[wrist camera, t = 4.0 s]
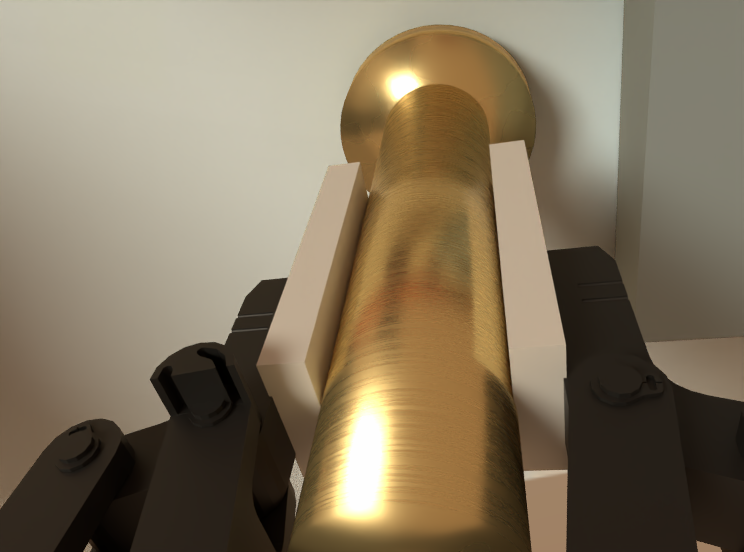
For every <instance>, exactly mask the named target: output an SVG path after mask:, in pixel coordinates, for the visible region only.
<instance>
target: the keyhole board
mask: <svg viewBox="0 0 744 552" xmlns="http://www.w3.org/2000/svg"><path fill="white" fill-rule="evenodd" d="M615 261H616V263H617V266H618V269H619V272H620V275H621V277H622V282H623V284H624V286H625V289H626V292H627V294H628V300H630V303H631V306H632V309H633V311H634V314H635V317H636V320H637V323H638V326H639V328H640V331H641V334H642V337H643V340H644V342H659V341H676V340H693V339H710V338H727V337H744V0H624V21H623V49H622V77H621V105H620V133H619V160H618V188H617V216H616V244H615Z"/></svg>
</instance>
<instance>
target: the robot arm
mask: <svg viewBox="0 0 744 552" xmlns="http://www.w3.org/2000/svg"><path fill="white" fill-rule="evenodd" d="M489 148H490V159H491V170H492V180H493V191H494V201H495V212H496V222H497V233H498V243H499V253H500V264H501V274H502V285H503V295H504V306H505V316H506V327H507V337H508V347H509V358H510V368H511V379H512V389H513V400H514V402H515V405H516V408H517V414H518V422H519V432H520V442H521V452H522V462H523V471H533V470H568V486H567V487H568V489H567V544H566V545H567V546H566V547H567V548H566V549H567V550H566V552H698V549H697V543H696V540H697V541H700V542H704V543H707V544H711V545H714V546H718V547H721V550H722V552H744V402H741V401H736V400H730V399H725V398H719V397H714V396H708V395H704V394H701V393H697V392H693V391H690V390H688V389H685V388H683V387H681V386H679V385H676V384H675V383H673V382H672V381H670V380H669V379H668V378H667V376H666V375H665V374H664V373H663V372H662V371H661V370H659V369H658V368H657V367H656V366H655V365H654V364H653V362H652V360H651V359H650V357H649V354H648V351H647V348H646V345H645V343H644V340H643V337H642V334H641V331H640V328H639V326H638V323H637V320H636V317H635V314H634V311H633V309H632V306H631V303H630V300H628V294H627V292H626V289H625V286H624V284H623V282H622V277H621V275H620V272H619V269H618V266H617V263H616V261H615V260H614V259H613V258H612V257H610V256H609V255H608V254H607V253H606V252H605V251H603V250H602V249H601V248H600V247H599V246H591V247H581V248H571V249H561V250H550V251H547V250H546V245H545V240H544V235H543V230H542V225H541V220H540V215H539V210H538V206H537V201H536V196H535V191H534V186H533V181H532V176H531V171H530V166H529V161H528V157H527V152H526V147H525V142H524V140H520V141H512V142H505V143H497V144H490V145H489ZM367 203H368V195H367V191H366V186H365V182H364V177H363V173H362V169H361V164H360V162H356V163H348V164H341V165H333V166H328V169H327V172H326V175H325V177H324V180H323V183H322V186H321V188H320V191H319V194H318V197H317V199H316V202H315V205H314V208H313V210H312V213H311V216H310V219H309V221H308V224H307V227H306V230H305V232H304V235H303V238H302V241H301V243H300V246H299V249H298V252H297V254H296V257H295V260H294V263H293V265H292V268H291V271H290V274H289V276H288V278H281V279H271V280H262V281H261V282H260V283H259V284H258V285H257V286H256V287H255V288H254V289H253V290H252V291H251V292H250V293H249V294H248V295H247V296H246V297H245V300H244V302H243V304H242V306H241V309H240V311H239V313H238V318H236V320H235V322H234V325H233V327H232V329H231V330H232V333H230V334H229V336H228V339H227V341H226V343H225V345H222V344H219V343H216V342H208V343H198V344H195V345H191V346H188V347H185V348H183V349H181V350H179V351H177V352H176V353H174V354H172V355H170V356H169V357H168V358H167V359H166V360H164V361H163V362H162V363H161V364H160V365H159V366H158V367H157V368H156V370H155V372H154V373H153V375H152V377H151V378H150V381H151V383H152V384H153V386H154V388H155V390H156V391H157V393H158V395H159V397H160V398H161V400H162V402H163V404H164V405H165V407H166V409H167V411H168V412H169V414H170V416H171V417H170V420H168V421H166V422H163V423H161V424H158V425H155V426H152V427H149V428H145V429H142V430H139V431H136V432H133V433H130V434H126V435H124V434H123V433H122V431H121V429H120V428H119V427H118V426H117V425H116V424H115V423H114V422H113V421H110V420H106V419H95V420H88V421H85V422H82V423H80V424H78V425H75V426H73V427H71V428H69V429H68V430H66V431H65V432H63V433H62V434H61V435H59V436H58V437H56V438H55V439H54V440H53V441H52V442H51V444H50V445H49V446H48V447H47V448H46V449H45V450H44V451H43V452H42V454H41V455H40V456H39V458H38V459H37V461H36V462H35V463H34V465H33V466H32V467H31V469H30V470H29V471H28V473H27V474H26V475H25V477H24V478H23V479H22V481H21V482H20V484H19V485H18V486H17V488H16V489H15V490H14V492H13V493H12V494H11V496H10V497H9V498H8V500H7V501H6V502H5V504H4V505H3V506H2V508H1V509H0V552H83V551H84V549H85V547H86V545H87V544H88V542H89V543H90V544H91V546H92V547H93V548H92V549H91V551H90V552H287V551H288V547H289V543H290V538H291V534H292V530H293V525H294V521H295V509H296V498H295V492H294V489H293V486H292V484H291V482H290V480H289V479H290V476H291V472H292V468H293V464H294V460H295V459H296V461H297V463H298V466H299V468H300V470H301V473H302V475H303V477H305V473H306V469H307V464H308V460H309V456H310V451H311V447H312V442H313V438H314V434H315V429H316V425H317V421H318V416H319V412H320V408H321V403H322V399H323V395H324V390H325V386H326V381H327V377H328V373H329V368H330V364H331V360H332V355H333V351H334V347H335V342H336V338H337V334H338V329H339V325H340V320H341V316H342V312H343V307H344V303H345V299H346V294H347V290H348V286H349V281H350V277H351V273H352V268H353V264H354V259H355V255H356V251H357V246H358V242H359V238H360V233H361V229H362V225H363V220H364V216H365V212H366V207H367Z"/></svg>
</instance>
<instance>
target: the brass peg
mask: <svg viewBox="0 0 744 552" xmlns="http://www.w3.org/2000/svg"><path fill="white" fill-rule="evenodd" d="M535 134H536V118H535V110H534V105H533V102H532V98H531V94H530V90H529V87H528V83H527V81H526V79H525V76H524V74H523V72H522V70H521V69H520V67H519V66H518V64H517V62H516V61H515V60H514V59H513V58H512V56H511V55H510V54H509V53H508V52H507V51H506V50H505V49H504V48H503V47H502V46H500V45H499V44H498V43H496V42H495V41H493V40H492V39H490V38H489V37H487V36H485V35H483V34H481V33H479V32H477V31H474V30H471V29H468V28H464V27H459V26H453V25H428V26H422V27H418V28H414V29H410V30H407V31H405V32H402V33H400V34H398V35H396V36H394V37H392V38H390V39H389V40H387V41H386V42H384V43H383V44H382V45H380V46H379V47H378V48H376V49H375V50H374V51H373V52H372V53H371V54H370V55H369V56H368V57H367V59H366V60H365V61H364V63H363V64H362V65H361V66H360V68H359V70H358V71H357V73H356V75H355V77H354V79H353V81H352V84H351V86H350V89H349V91H348V94H347V97H346V99H345V102H344V106H343V110H342V115H341V140H342V146H343V150H344V153H345V157H346V160H347V162H348V163H356V162H360V164H361V169H362V173H363V177H364V182H365V186H366V190H367V191H368V192H370V194H369V198H368V203H367V207H366V212H365V216H364V220H363V225H362V229H361V233H360V238H359V242H358V246H357V251H356V255H355V259H354V264H353V268H352V273H351V277H350V281H349V286H348V290H347V294H346V299H345V303H344V307H343V312H342V316H341V320H340V325H339V329H338V334H337V338H336V342H335V347H334V351H333V355H332V360H331V364H330V368H329V373H328V377H327V381H326V386H325V390H324V395H323V399H322V403H321V408H320V412H319V416H318V421H317V425H316V429H315V434H314V438H313V442H312V447H311V451H310V456H309V460H308V464H307V469H306V473H305V477H304V482H303V486H302V490H301V495H300V499H299V503H298V508H297V512H296V517H295V521H294V525H293V530H292V534H291V538H290V543H289V547H288V551H287V552H532V551H531V541H530V531H529V521H528V511H527V502H526V491H525V481H524V471H523V462H522V452H521V442H520V432H519V422H518V414H517V408H516V405H515V402H514V400H513V389H512V379H511V368H510V358H509V347H508V337H507V327H506V316H505V306H504V295H503V285H502V274H501V264H500V253H499V243H498V233H497V222H496V212H495V201H494V191H493V180H492V170H491V159H490V148H489V145H490V144H497V143H505V142H512V141H520V140H524V142H525V147H526V152H527V157H528V160H529V158H530V155H531V152H532V149H533V146H534V140H535Z"/></svg>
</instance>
